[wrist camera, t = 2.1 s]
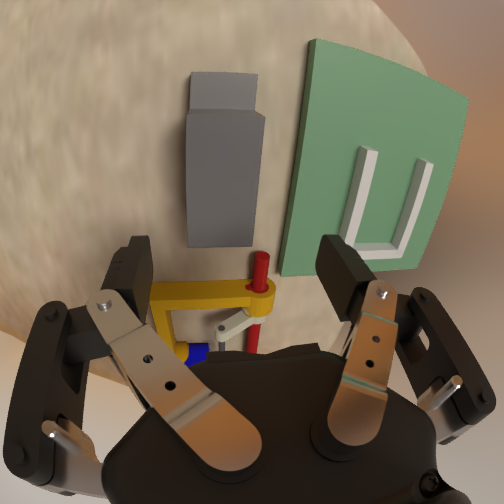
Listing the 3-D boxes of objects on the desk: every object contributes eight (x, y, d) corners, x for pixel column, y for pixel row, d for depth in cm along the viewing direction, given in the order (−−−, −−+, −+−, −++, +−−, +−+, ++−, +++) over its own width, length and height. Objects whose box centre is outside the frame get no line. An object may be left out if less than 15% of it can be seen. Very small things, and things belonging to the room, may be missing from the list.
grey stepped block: (242, 212, 27) (252, 246, 22) (189, 212, 26) (188, 248, 21) (253, 74, 20) (269, 73, 15) (192, 72, 19) (188, 70, 14)
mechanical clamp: (291, 282, 26) (260, 412, 43) (276, 244, 31) (254, 382, 48) (92, 290, 22) (154, 417, 39) (107, 250, 27) (155, 387, 44)
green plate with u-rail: (277, 268, 32) (284, 285, 29) (310, 40, 18) (323, 36, 16) (410, 261, 35) (422, 274, 33) (460, 96, 22) (478, 101, 19)
